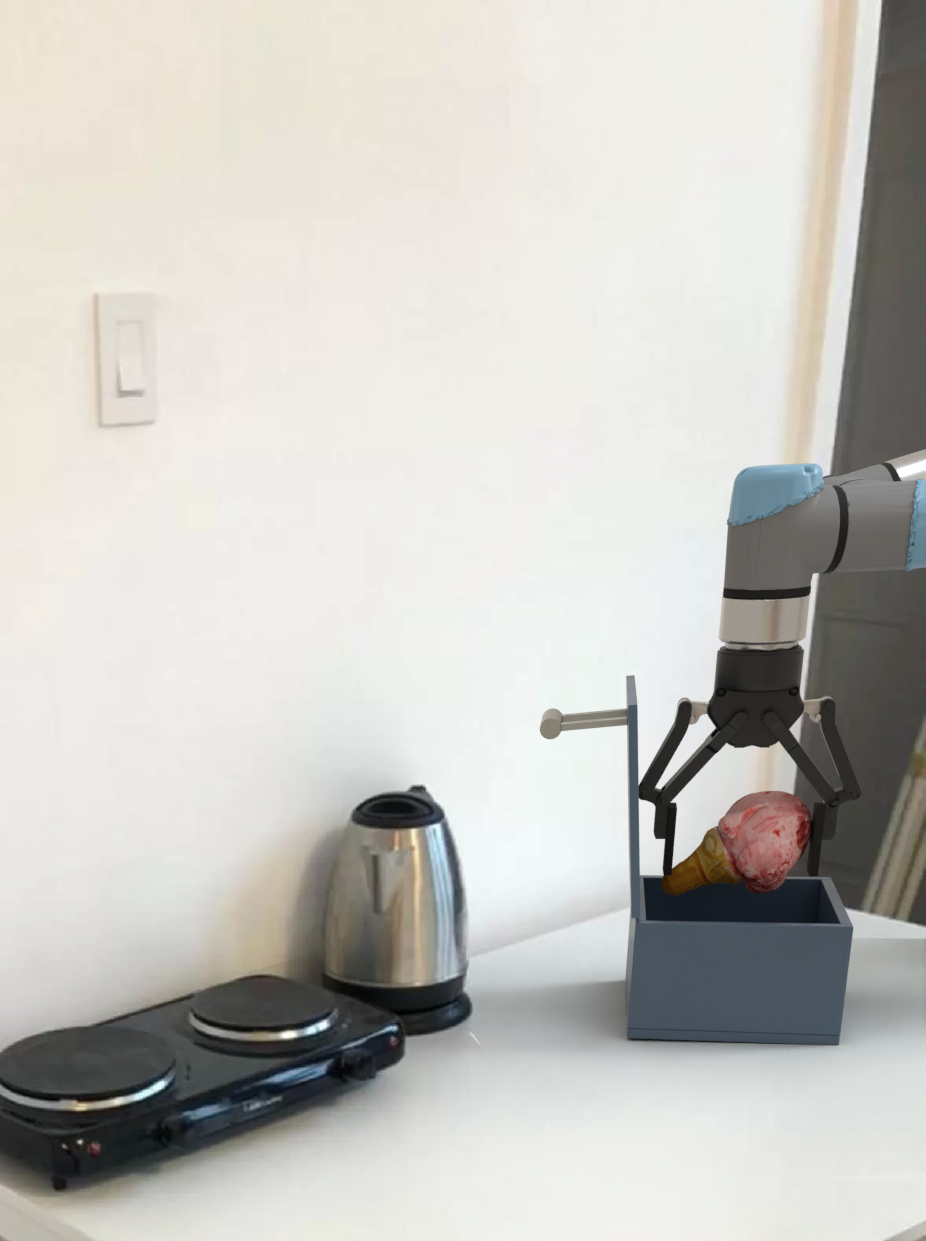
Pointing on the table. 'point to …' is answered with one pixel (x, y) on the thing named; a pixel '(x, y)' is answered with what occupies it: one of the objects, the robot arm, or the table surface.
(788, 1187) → the table surface
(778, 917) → the box
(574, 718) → the freezer lid
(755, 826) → the ice cream
